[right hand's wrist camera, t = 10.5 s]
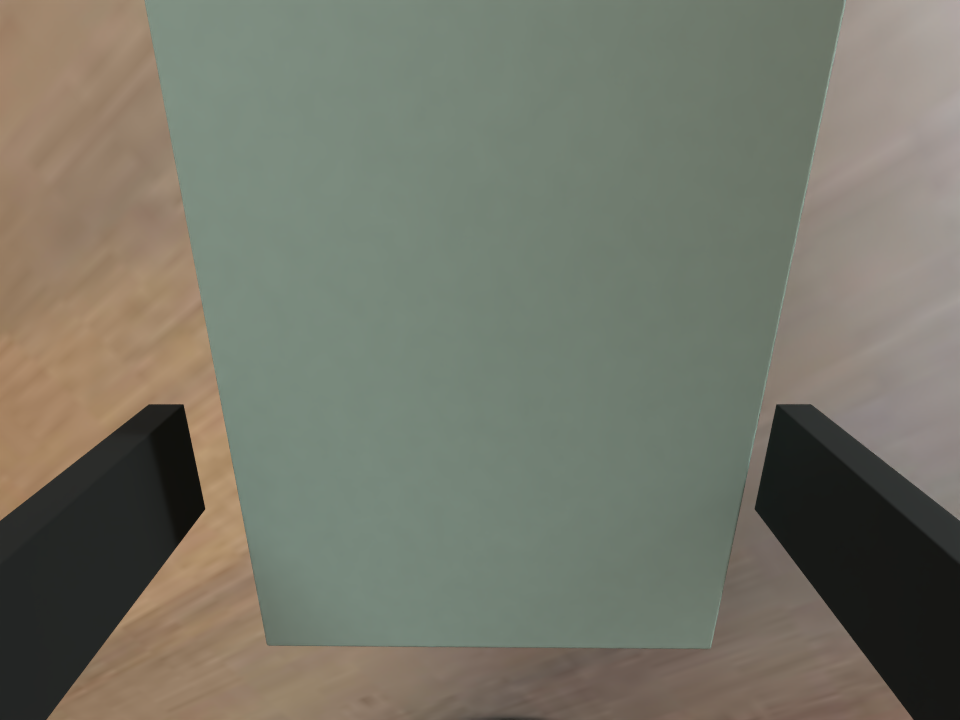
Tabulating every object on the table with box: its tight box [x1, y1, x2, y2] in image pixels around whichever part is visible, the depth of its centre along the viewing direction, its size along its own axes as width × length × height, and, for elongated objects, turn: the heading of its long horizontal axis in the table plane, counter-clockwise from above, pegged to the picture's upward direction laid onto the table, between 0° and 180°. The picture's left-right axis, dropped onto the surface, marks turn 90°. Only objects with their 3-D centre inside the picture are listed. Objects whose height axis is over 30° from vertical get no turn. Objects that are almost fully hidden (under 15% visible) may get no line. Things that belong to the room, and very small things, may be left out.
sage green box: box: [145, 0, 846, 649], centre depth 15 cm, size 16×10×10 cm, turn 0°
